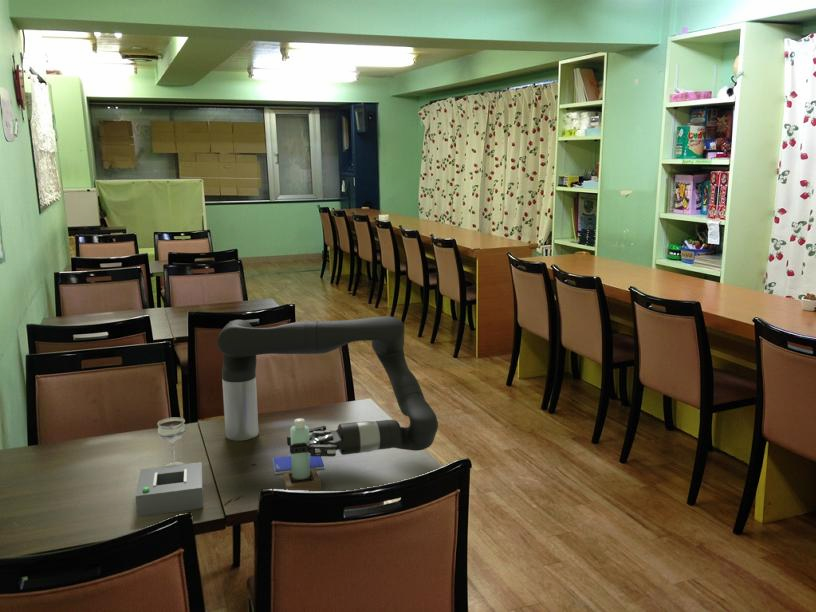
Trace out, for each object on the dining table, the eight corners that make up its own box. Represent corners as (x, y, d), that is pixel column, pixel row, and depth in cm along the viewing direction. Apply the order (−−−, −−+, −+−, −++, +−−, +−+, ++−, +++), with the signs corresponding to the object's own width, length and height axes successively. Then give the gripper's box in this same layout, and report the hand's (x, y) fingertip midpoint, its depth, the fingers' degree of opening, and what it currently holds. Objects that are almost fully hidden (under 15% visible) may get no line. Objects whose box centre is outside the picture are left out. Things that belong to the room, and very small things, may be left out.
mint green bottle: (290, 472, 167) (289, 417, 165) (308, 469, 169) (307, 416, 166) (293, 480, 163) (291, 424, 160) (311, 477, 165) (310, 422, 162)
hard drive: (274, 470, 172) (324, 465, 175) (272, 457, 180) (319, 452, 183) (275, 476, 173) (324, 470, 176) (272, 462, 180) (319, 457, 183)
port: (142, 488, 165) (140, 466, 164) (203, 480, 169) (201, 459, 168) (137, 516, 152) (135, 493, 150) (203, 507, 156) (201, 485, 154)
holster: (283, 479, 169) (282, 472, 169) (315, 475, 172) (315, 468, 171) (287, 494, 162) (286, 486, 161) (320, 489, 164) (320, 482, 164)
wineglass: (168, 474, 172) (165, 429, 170) (155, 466, 177) (152, 422, 174) (193, 465, 177) (190, 421, 175) (179, 458, 182) (176, 415, 179)
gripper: (365, 463, 162) (292, 472, 158) (352, 440, 176) (285, 448, 171) (365, 433, 161) (291, 441, 156) (352, 412, 174) (284, 419, 169)
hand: (288, 444), depth 164 cm, fingers closed on mint green bottle, 4 cm apart
